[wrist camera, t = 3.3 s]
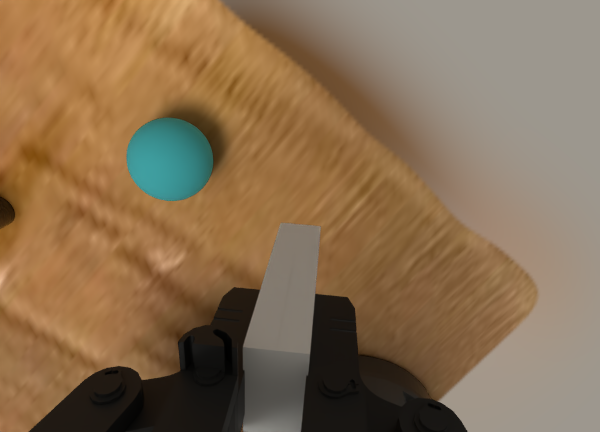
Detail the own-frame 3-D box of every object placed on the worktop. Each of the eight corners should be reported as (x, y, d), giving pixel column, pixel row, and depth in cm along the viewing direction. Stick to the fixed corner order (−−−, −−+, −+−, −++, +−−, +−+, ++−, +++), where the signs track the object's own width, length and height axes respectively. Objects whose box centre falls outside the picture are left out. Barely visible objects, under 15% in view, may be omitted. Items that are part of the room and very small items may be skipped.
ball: (221, 114, 28) (196, 130, 23) (223, 188, 30) (200, 217, 25) (145, 108, 28) (103, 123, 23) (152, 182, 30) (116, 209, 25)
